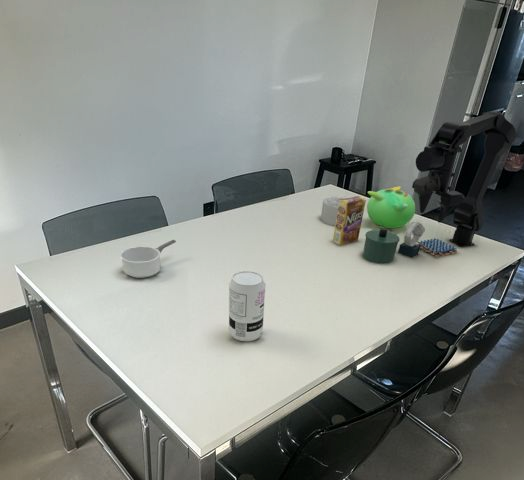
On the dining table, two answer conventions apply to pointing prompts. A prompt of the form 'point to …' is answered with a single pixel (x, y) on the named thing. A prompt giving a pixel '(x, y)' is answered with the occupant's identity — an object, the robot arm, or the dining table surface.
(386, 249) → the pot
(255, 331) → the supplement can
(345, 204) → the candy box
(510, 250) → the dining table surface
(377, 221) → the green toy creature
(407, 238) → the watch
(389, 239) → the pot lid
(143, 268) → the saucepan
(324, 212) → the lumpy-topped squat cylinder
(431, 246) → the woven mat
